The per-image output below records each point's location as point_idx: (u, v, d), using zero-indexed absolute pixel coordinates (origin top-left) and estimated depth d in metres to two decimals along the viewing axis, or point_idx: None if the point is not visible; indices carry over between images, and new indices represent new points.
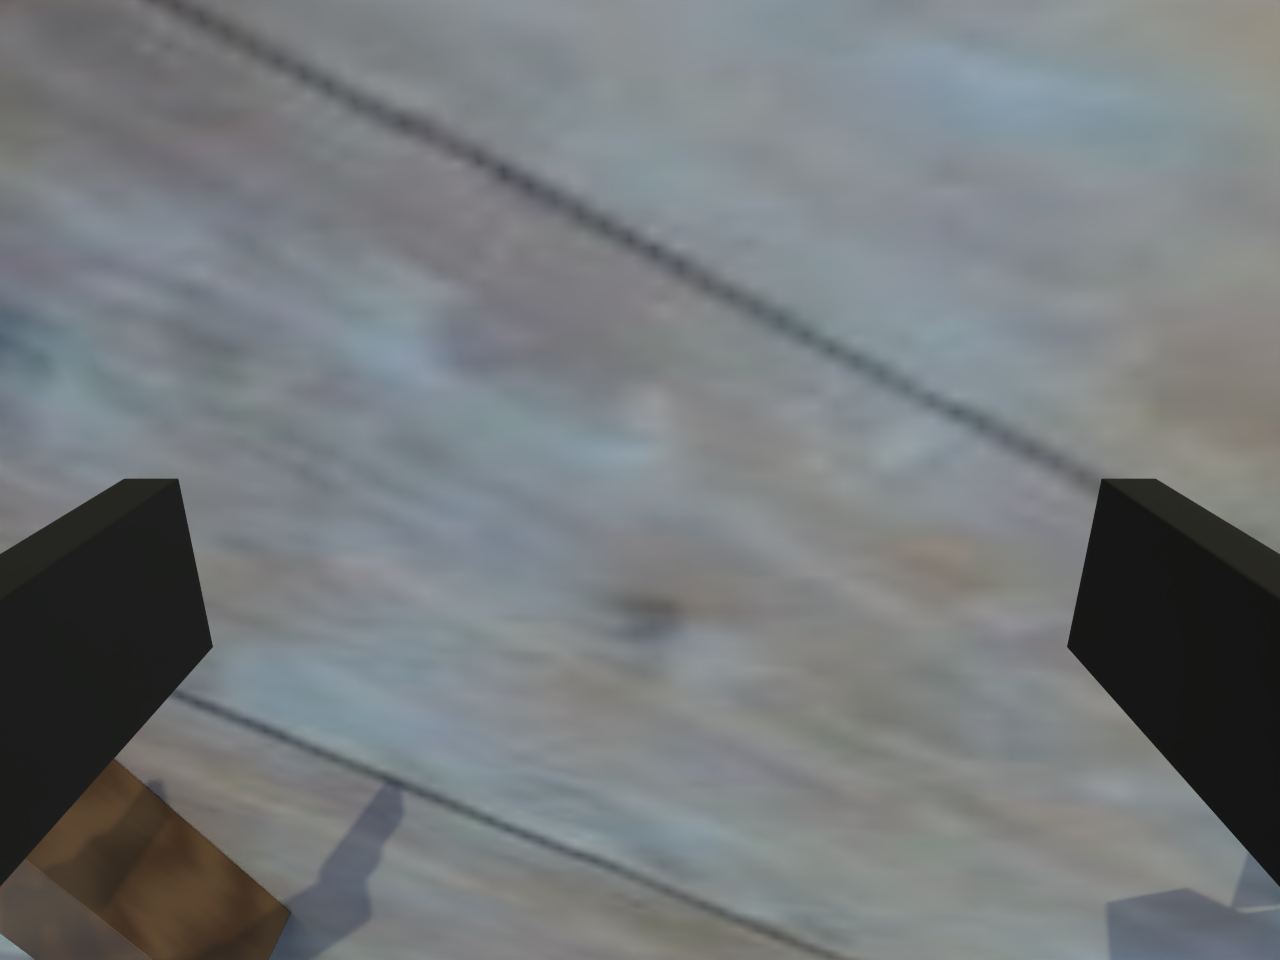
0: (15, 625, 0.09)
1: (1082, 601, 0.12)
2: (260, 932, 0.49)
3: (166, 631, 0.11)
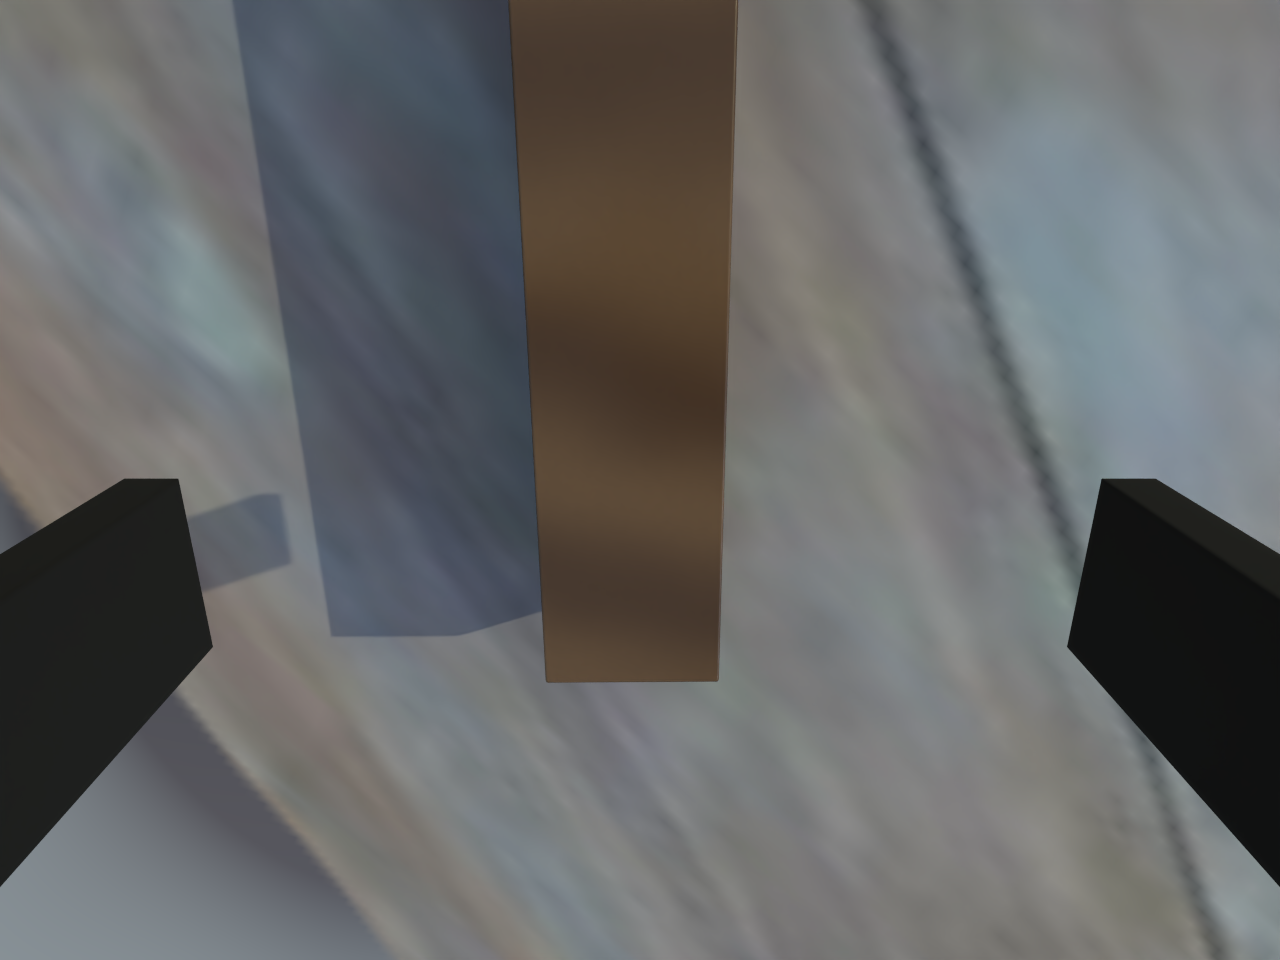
0: (15, 625, 0.09)
1: (1082, 601, 0.12)
2: None
3: (166, 631, 0.11)
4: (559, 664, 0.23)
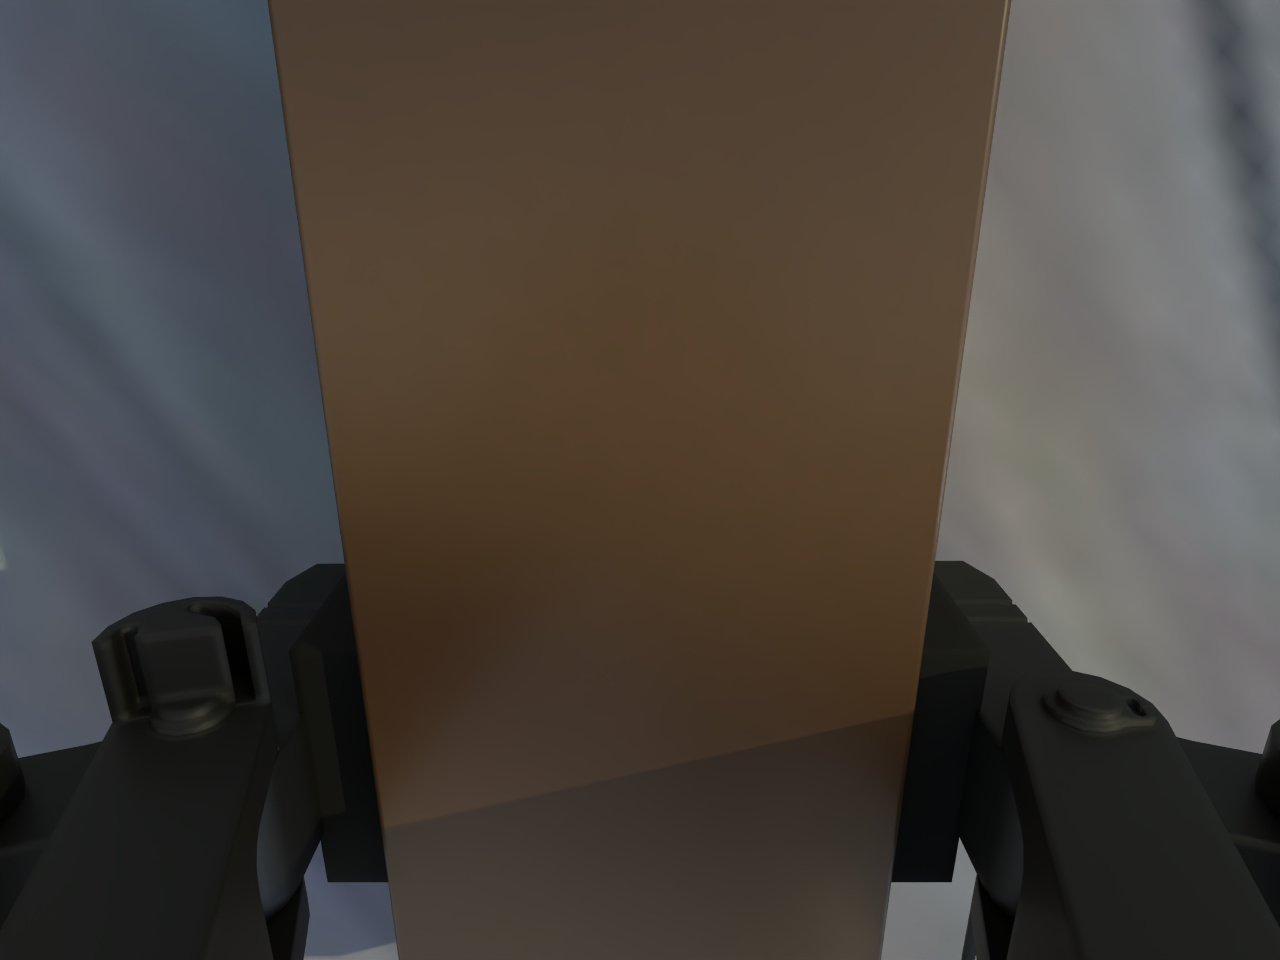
0: None
1: None
2: None
3: None
4: None
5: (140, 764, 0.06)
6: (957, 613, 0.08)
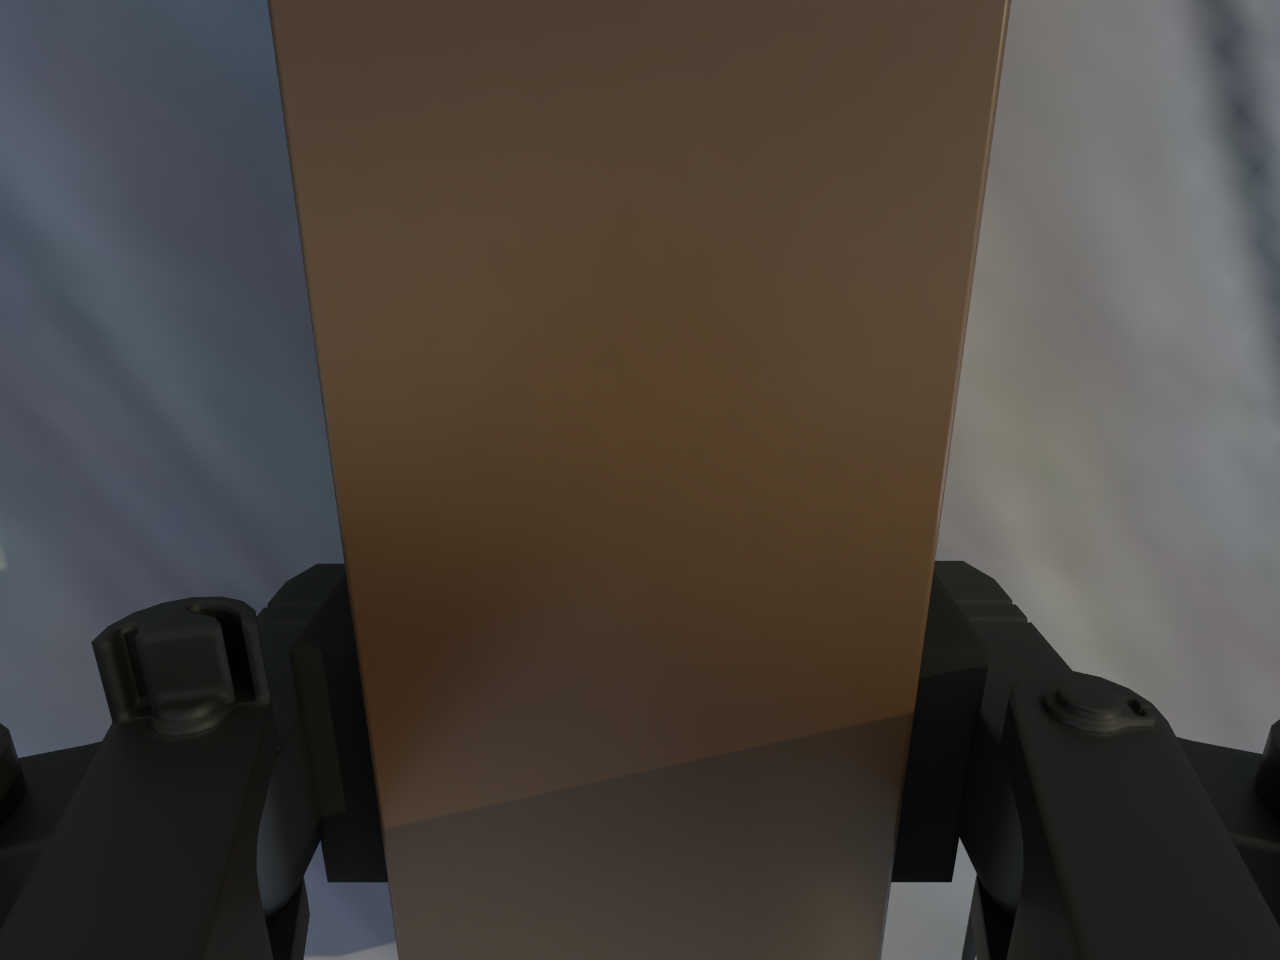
0: None
1: None
2: None
3: None
4: None
5: (140, 764, 0.06)
6: (957, 613, 0.08)
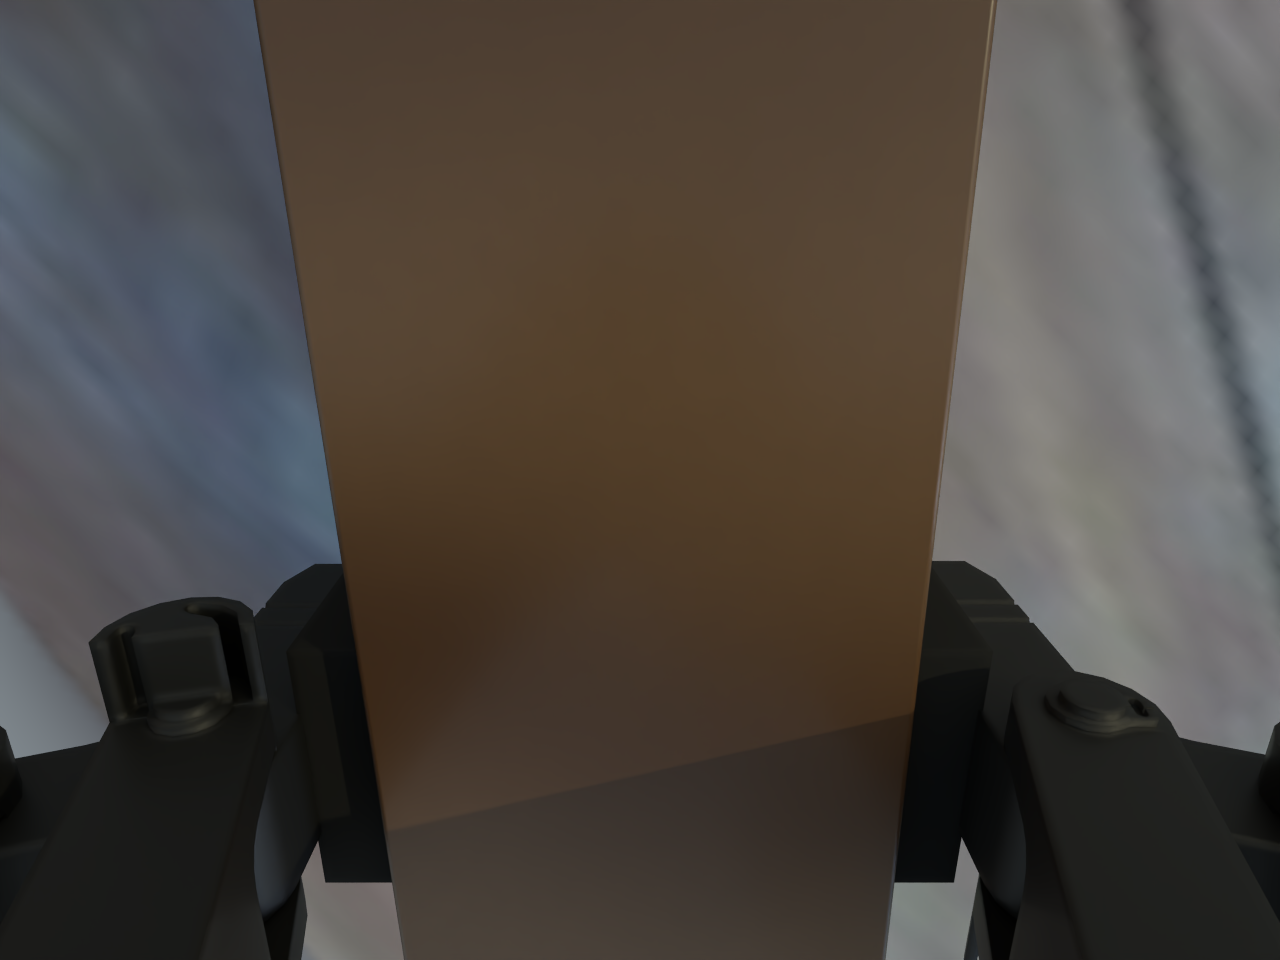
0: None
1: None
2: None
3: None
4: None
5: (138, 765, 0.06)
6: (959, 614, 0.08)
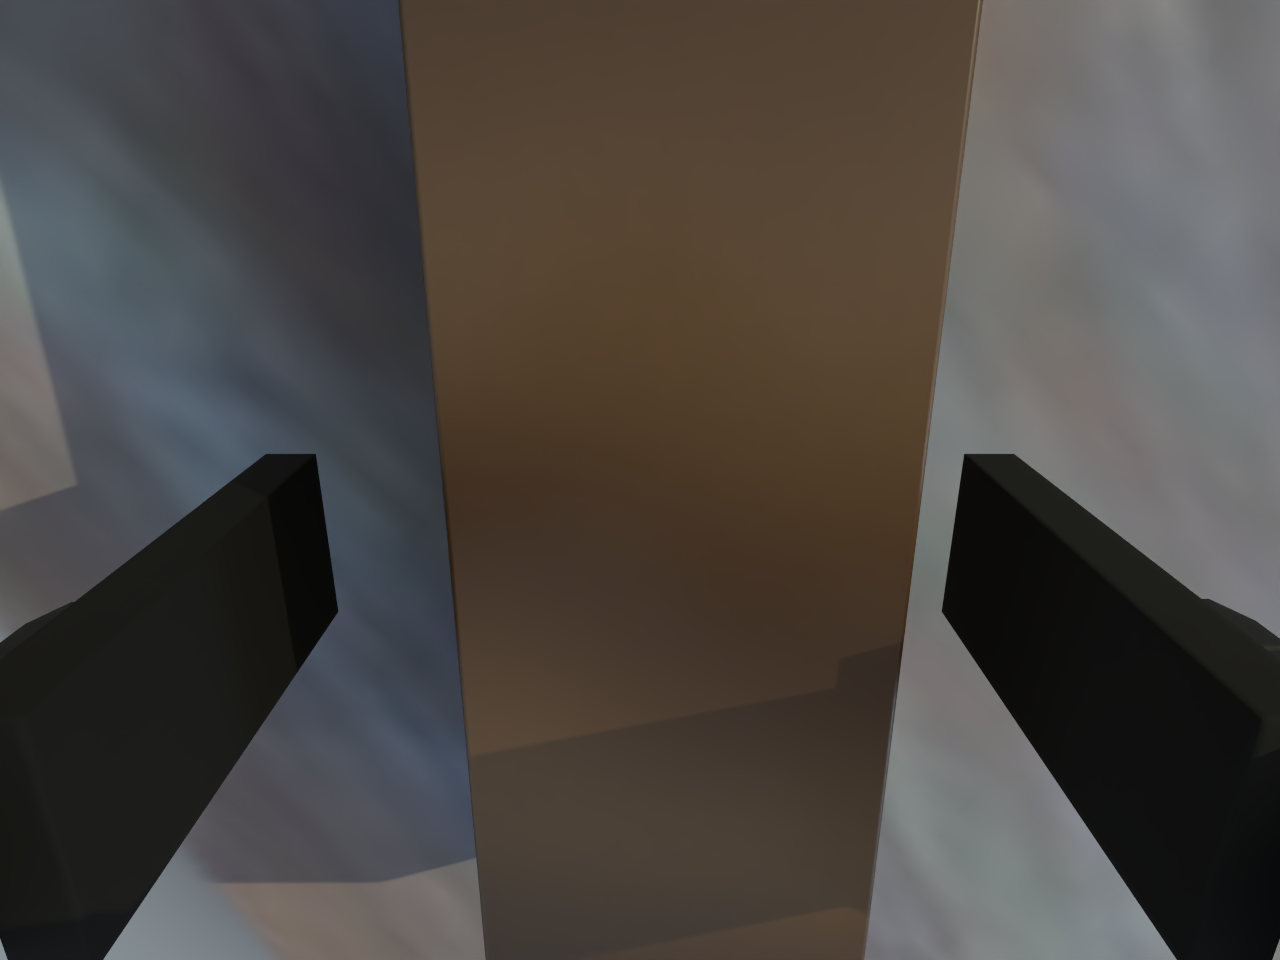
0: (212, 578, 0.10)
1: (951, 569, 0.13)
2: None
3: (308, 593, 0.12)
4: None
5: None
6: None
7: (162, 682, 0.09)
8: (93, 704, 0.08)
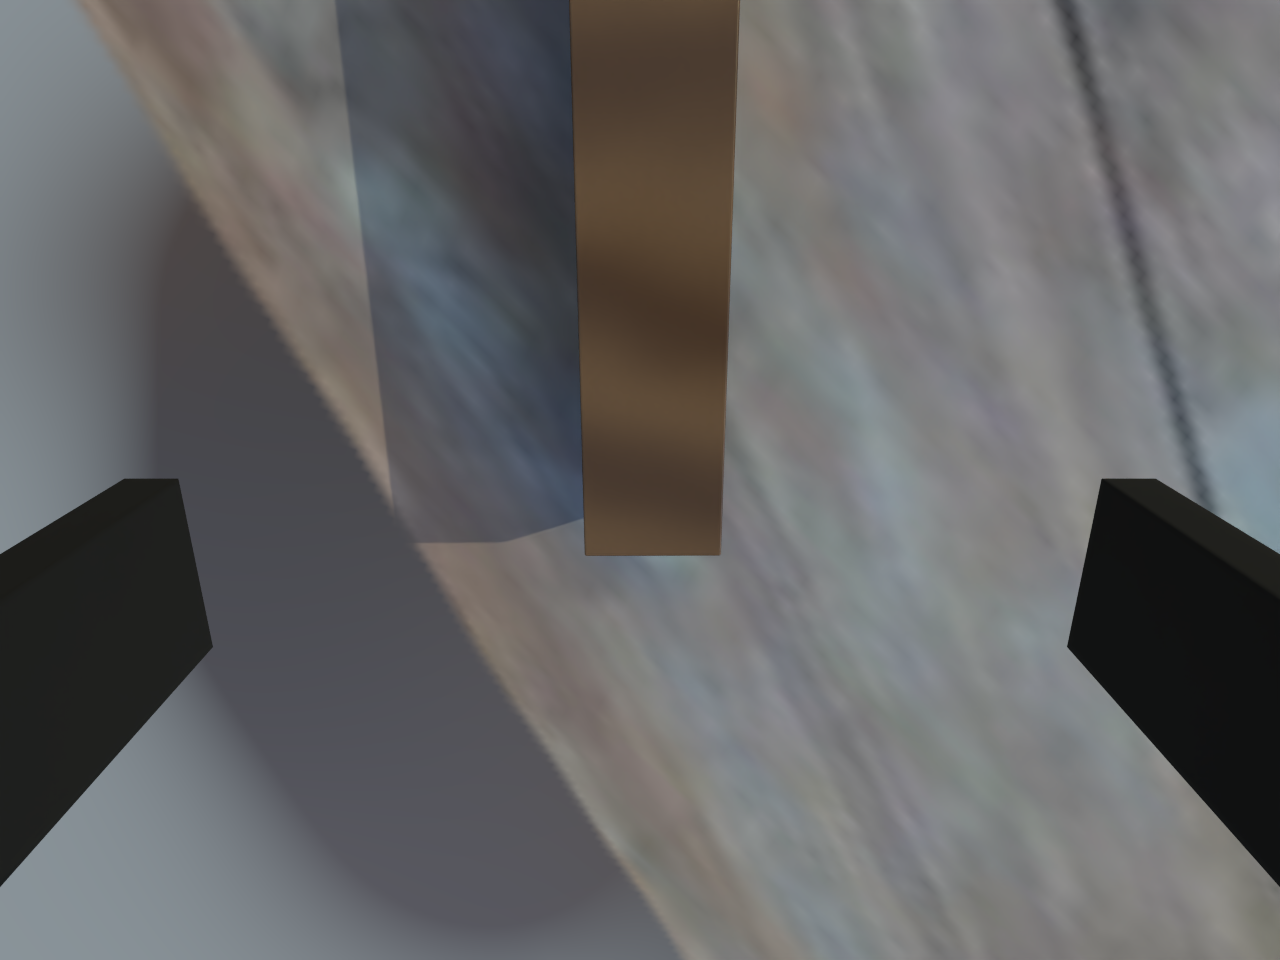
0: (15, 625, 0.09)
1: (1082, 601, 0.12)
2: None
3: (166, 631, 0.11)
4: (596, 541, 0.30)
5: None
6: None
7: None
8: None
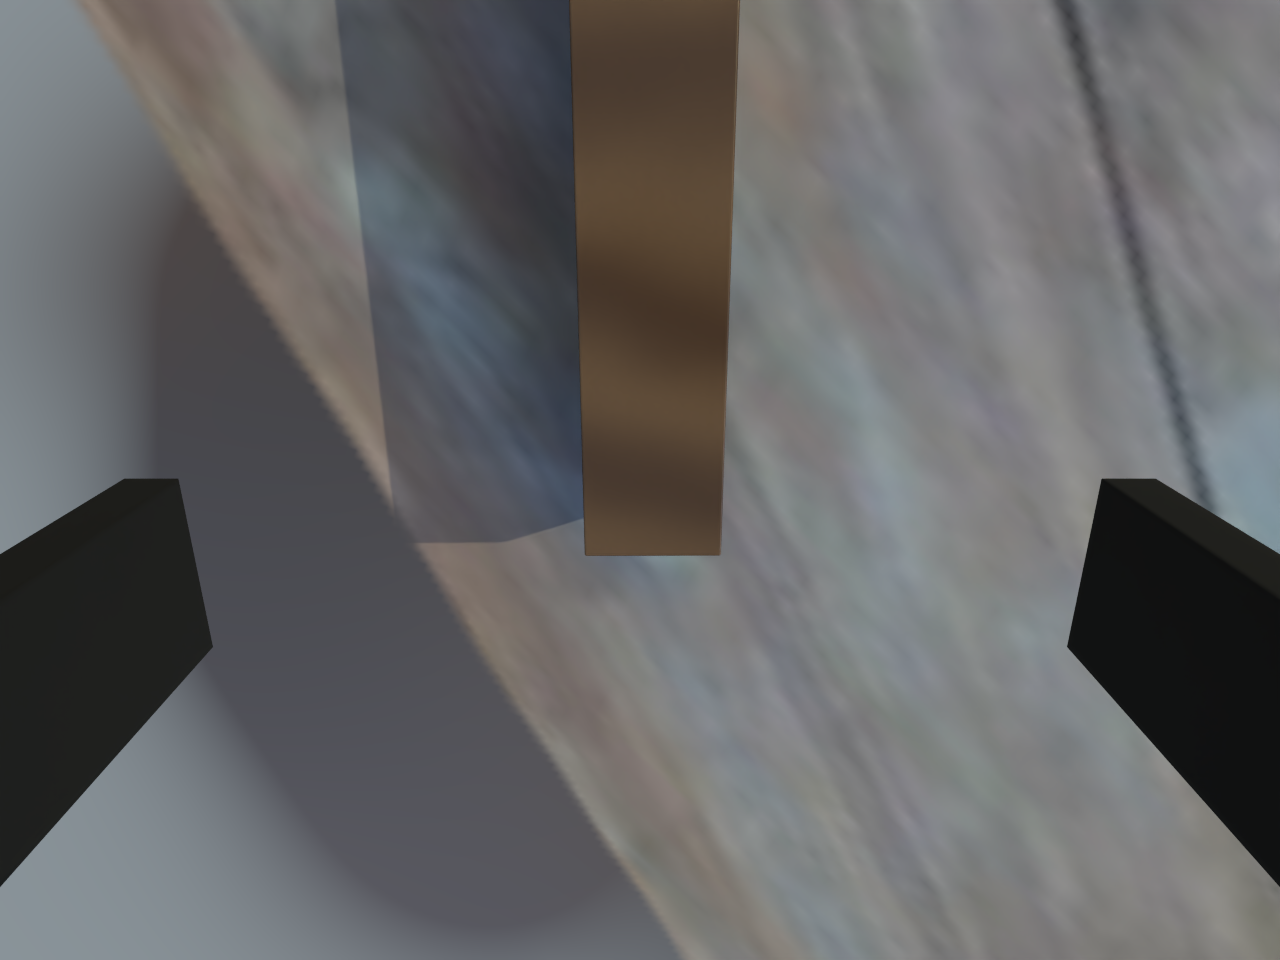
0: (14, 625, 0.09)
1: (1082, 601, 0.12)
2: None
3: (166, 631, 0.11)
4: (596, 541, 0.30)
5: None
6: None
7: None
8: None
